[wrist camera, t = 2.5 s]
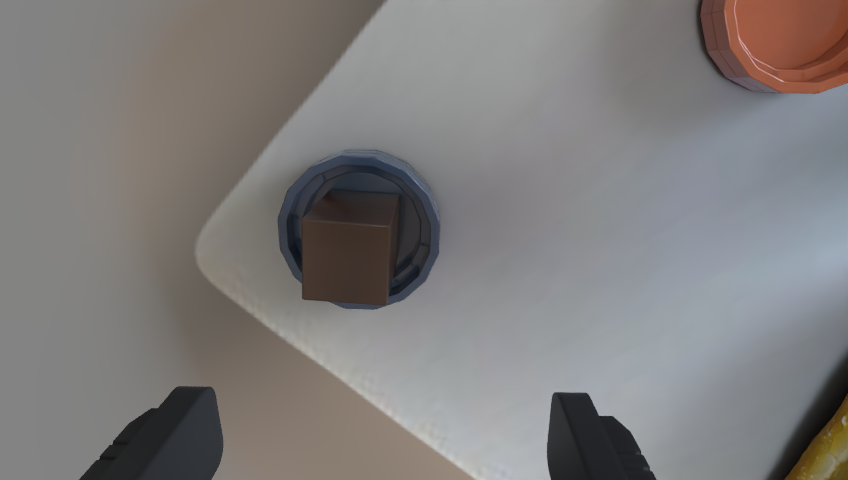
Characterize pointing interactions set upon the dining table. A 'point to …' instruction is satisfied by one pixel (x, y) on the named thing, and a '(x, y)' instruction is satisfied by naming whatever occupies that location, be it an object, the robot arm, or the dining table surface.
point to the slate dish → (368, 176)
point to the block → (350, 247)
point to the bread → (826, 451)
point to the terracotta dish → (779, 43)
